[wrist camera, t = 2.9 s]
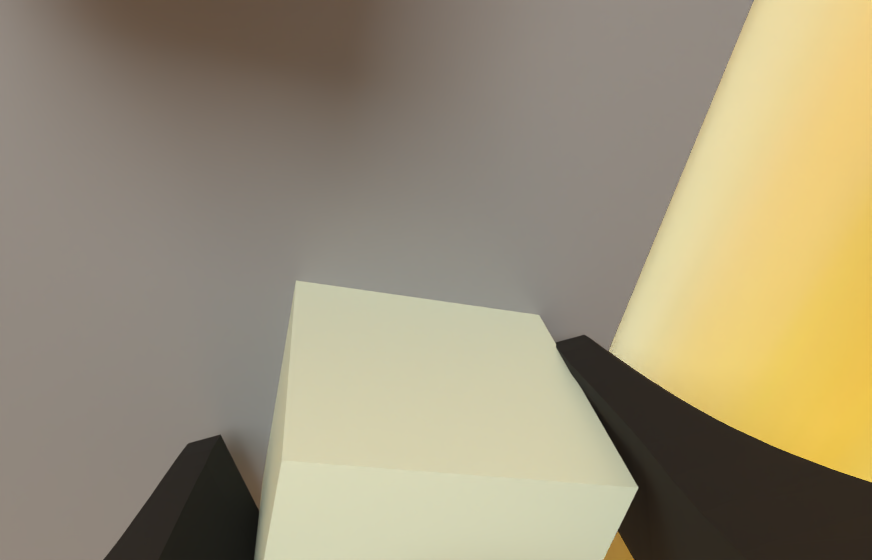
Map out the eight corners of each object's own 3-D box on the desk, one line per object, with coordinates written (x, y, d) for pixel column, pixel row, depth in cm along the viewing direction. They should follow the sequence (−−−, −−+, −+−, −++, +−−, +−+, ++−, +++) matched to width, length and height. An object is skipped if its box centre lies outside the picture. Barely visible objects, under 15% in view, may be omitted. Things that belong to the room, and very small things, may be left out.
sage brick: (539, 315, 13) (638, 487, 9) (476, 493, 14) (533, 701, 11) (296, 280, 11) (281, 460, 7) (262, 478, 13) (237, 705, 9)
